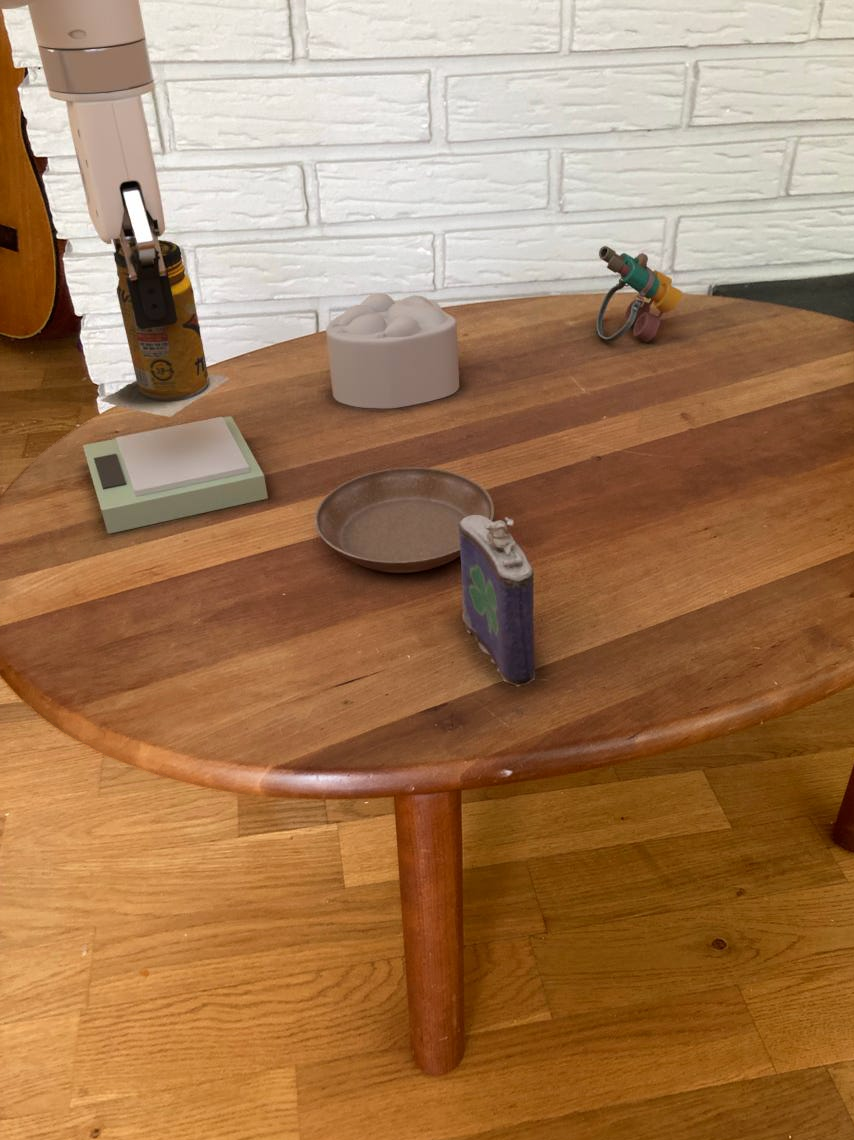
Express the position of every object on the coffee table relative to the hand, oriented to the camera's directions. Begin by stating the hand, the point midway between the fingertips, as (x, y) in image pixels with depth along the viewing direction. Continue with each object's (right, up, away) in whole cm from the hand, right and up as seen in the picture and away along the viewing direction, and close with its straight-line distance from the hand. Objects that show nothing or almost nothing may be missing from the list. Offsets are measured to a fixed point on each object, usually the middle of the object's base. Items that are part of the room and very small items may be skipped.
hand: (149, 309), depth 89 cm
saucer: (+21, -19, +1) cm, 29 cm away
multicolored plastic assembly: (+45, +8, +35) cm, 58 cm away
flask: (+29, -28, -11) cm, 42 cm away
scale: (-1, -13, +10) cm, 16 cm away
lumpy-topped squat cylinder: (+18, -1, +25) cm, 31 cm away
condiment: (0, -6, +4) cm, 7 cm away
